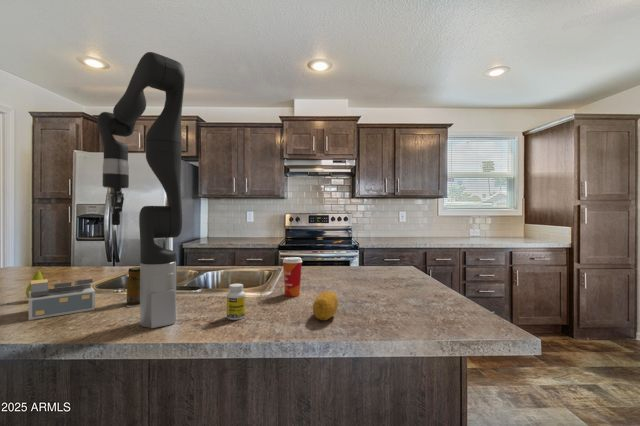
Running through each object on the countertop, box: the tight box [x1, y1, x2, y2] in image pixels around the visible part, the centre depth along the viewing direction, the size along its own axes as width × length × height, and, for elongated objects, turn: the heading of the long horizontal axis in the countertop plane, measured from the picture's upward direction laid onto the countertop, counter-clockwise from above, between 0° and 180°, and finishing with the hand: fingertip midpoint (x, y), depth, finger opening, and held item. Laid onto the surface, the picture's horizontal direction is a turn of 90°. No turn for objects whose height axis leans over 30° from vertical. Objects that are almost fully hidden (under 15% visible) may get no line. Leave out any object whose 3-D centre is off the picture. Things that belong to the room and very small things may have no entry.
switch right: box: [73, 278, 94, 286], centre depth 109 cm, size 10×4×1 cm, turn 41°
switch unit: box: [28, 283, 96, 321], centre depth 105 cm, size 12×16×7 cm
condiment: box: [122, 266, 140, 308], centre depth 114 cm, size 7×8×12 cm
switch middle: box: [52, 281, 72, 288], centre depth 105 cm, size 10×4×1 cm, turn 41°
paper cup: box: [282, 256, 303, 297], centre depth 127 cm, size 8×8×14 cm
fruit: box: [25, 265, 44, 299], centre depth 116 cm, size 6×6×12 cm
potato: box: [312, 290, 339, 321], centre depth 100 cm, size 7×14×7 cm, turn 167°
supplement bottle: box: [226, 283, 246, 321], centre depth 99 cm, size 5×5×10 cm
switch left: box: [30, 278, 50, 296], centre depth 102 cm, size 10×4×1 cm, turn 41°
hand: (115, 224), depth 111 cm, fingers closed
